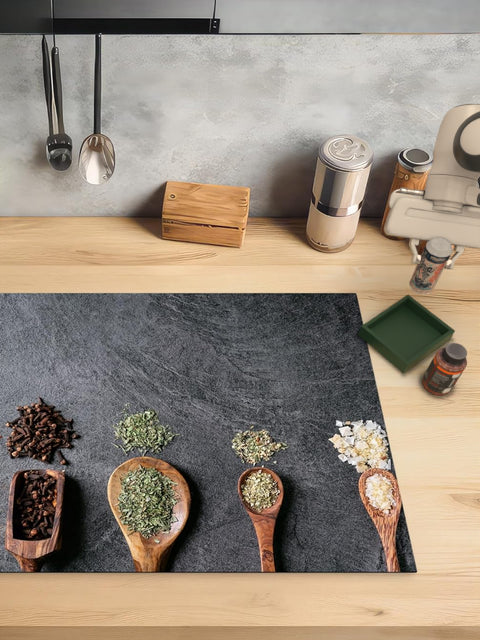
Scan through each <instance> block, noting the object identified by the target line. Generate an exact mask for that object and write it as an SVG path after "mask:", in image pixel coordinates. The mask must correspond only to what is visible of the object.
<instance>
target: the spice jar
mask: <svg viewBox="0 0 480 640" xmlns="http://www.w3.org/2000/svg"><path fill="white" fill-rule="evenodd" d="M452 254H453V245H452V244H451V243H450V241H449V240H448V239H445V238H443V237H434V238H433V239H431V240H429V241H426V244H425V247H424V248H423V250H422V253H421V255H422V259H421V263H420V264H416V266H415V268H414V270H413V272H412V275H411V277H410V279H409V282H408V286H409V287H410V289H411V290H412V291H413V292H415V293H417V294H420V295H429V294H431V293H432V292H433V291H434V289H435V288H436V286H437V283H438V281H439V279H440V278H441V275H442V273H443V271H444V270H445V269H444V267H445V265H446V263H447V261H448V260H449V259H450V258H451V256H452Z"/></svg>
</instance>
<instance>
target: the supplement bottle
mask: <svg viewBox="0 0 480 640" xmlns="http://www.w3.org/2000/svg"><path fill="white" fill-rule="evenodd" d="M467 355H468V350H467V348H466V347H465V346H464V345H463V344H462V343H461V344H460V343H457V342H449V343H448V344H447V345H446V346H445V347H442V348H441V347H440V348H439V349H437V351H436V353H435V354H434V356H433V358H432V360H431V361H430V363H429V365H428V367H427V368H426V371H425V372H424V374H423V376H422V385H423V387H424V388H425V390H427V392H429V393H431V394H433V395H437V396H444V395H447V394H450V392H451V391H452V390H453V388H454V387H455V386H456V384H457V382H458V381H459V379H460V377H461V376H462V375H463V372H464V371H465V369H466V367H467V366H468V359H467Z"/></svg>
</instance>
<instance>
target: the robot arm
mask: <svg viewBox="0 0 480 640" xmlns="http://www.w3.org/2000/svg"><path fill="white" fill-rule="evenodd" d="M436 134H437V135H436V138H435V142H434V144H433V145H434V146H433V151H432V164H431V166H430V169H429V170H428V173H427V177H426V180H425V185H424V190H423V189H413V188H407V187H399V188H398V189H395V190H393V191H392V192H391V193H390V196H389V199H388V208H389V211H388V213H387V216H386V219H385V223H384V226H383V231H384V233H385V235H386V236H391V237H397V238H403V239H409V241H408V247H409V250H410V253H411V254H412V256H411V258H410V264H412V265H413V264H414V265H417V264H420V263H421V259H422V254H419V253H418V250H417V247H416V246H419V244H420V241H423V242H428V241H429V240H431V239H433V238H434V237H443V238H445V239H448V240H449V241H450V243H451V244H452V246H453V248H452V252H455V253H454V254H453V255H451V256H450V257H449V259H448V261H447V263H446V265H445V267H444V269H443V270H451V271H453V270H454V267H455V262H456V261H457V260H458V259H459V258H460V257H461V256H462V255H463V254H464V251H465V248H469V249H474V250H480V187H478V186H477V185H478V180H479V178H480V103H464V104H459V105H456V106H454V107H452V108H450V109H449V110H448V111H446V113H445V115H444V116H443V118H442V120H441V123H440V124H439V128H438V130H437V133H436Z"/></svg>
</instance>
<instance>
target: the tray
mask: <svg viewBox="0 0 480 640" xmlns="http://www.w3.org/2000/svg"><path fill="white" fill-rule="evenodd" d="M455 332H456V330H455V329H454V328H453V327H451V326H450V325H449V324H447V323H446V322H445V321H444V320H442V319H441V318H439V317H438V316H437V315H436V314H434V313H433V312H432V311H431V310H430V309H428V308H427V307H425V306H424V305H422V303H420V302H419V301H417V300H416V299H415V298H414V297H412V296H411V295H410V294H406V295H405V296H403V297H402V298H401V299H399V300H397V301H396V302H394V303H393V304H392V305H390V306H389V307H387V308H386V309H384V310H383V311H381V312H380V313H378V314H376V315H375V316H374V317H372V318H371V319H369V320H368V321H367V322H365V323H364V324H362V325H361V326H360V328H359V331H358V333H357V336H358V337H359V338H360V339H362V340H363V341H364V342H365V343H367V344H368V345H369V346H370V347H371V348H372V349H374V350H375V351H376V352H378V354H380V356H382V357H383V358H384V359H386V360H387V361H388V362H389V363H391V364H392V366H394V367H395V368H396V369H398V371H400V372H401V373H402V374H405V373H406V372H408V371H410V370H411V369H413V367H415V366H416V365H418V364H419V363H421V362H422V361H424V360H425V359H426V358H427V357H429V356H430V355H431V354H432V353H434V352H436V351H438V350H439V349H440V348H441V347H442V346H443V345H445V344H446V343H448V342H449V341H451V339H452V337H453V336H454V334H455Z"/></svg>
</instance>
